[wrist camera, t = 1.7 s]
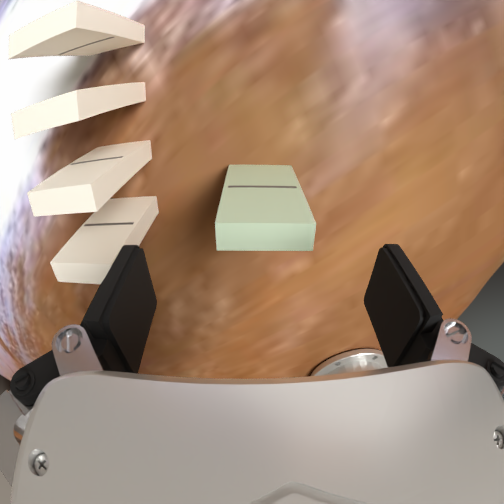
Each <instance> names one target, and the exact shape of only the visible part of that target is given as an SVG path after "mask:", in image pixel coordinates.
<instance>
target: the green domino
mask: <svg viewBox="0 0 504 504" xmlns="http://www.w3.org/2000/svg"><path fill="white" fill-rule="evenodd" d="M315 229H316V222H315V220H314V217H313V215H312V212H311V210H310V208H309V205H308V203H307V200H306V198H305V196H304V193H303V191H302V189H301V186H300V184H299V182H298V179H297V177H296V175H295V173H294V170H293V168H292V166H290V165H229V167H228V171H227V175H226V179H225V183H224V187H223V191H222V195H221V199H220V204H219V208H218V212H217V216H216V221H215V232H216V246H217V250H236V251H313V244H314V237H315Z"/></svg>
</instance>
